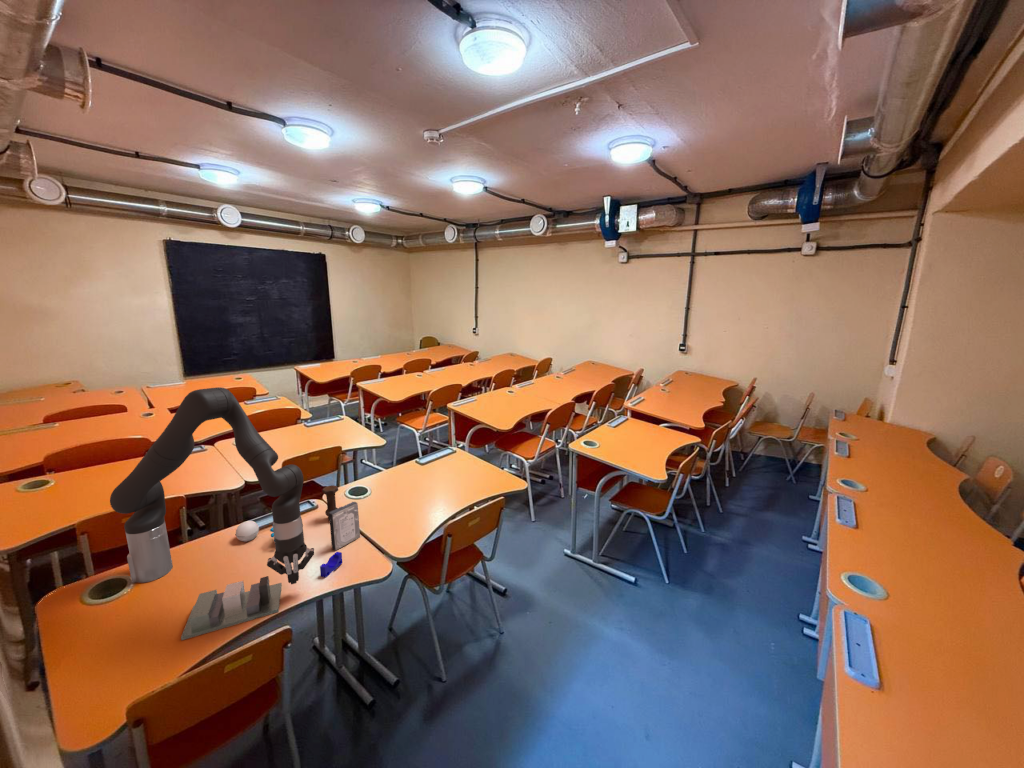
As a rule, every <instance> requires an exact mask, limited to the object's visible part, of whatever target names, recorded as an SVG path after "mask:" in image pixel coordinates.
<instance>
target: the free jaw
mask: <svg viewBox="0 0 1024 768" xmlns="http://www.w3.org/2000/svg"><path fill="white" fill-rule="evenodd" d="M269 578H270V577H269V576H264V577H260V579H259V582H257V583H254V584H253V583H252V584H251V586H250V589H249V591H250V593H249V597H248V602H247V606H246V611H247V615H250V614H254V613H257V612H260V607H261V604H265V603H268V602H269V599H270V579H269Z"/></svg>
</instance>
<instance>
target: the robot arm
mask: <svg viewBox="0 0 1024 768" xmlns="http://www.w3.org/2000/svg"><path fill="white" fill-rule="evenodd" d="M216 419H217V420H218V419H223V420H224V421H225V422H226V423H227V424H228V425H229V427H231V428H232V430H233V437H234V444H235V447H236V450H237V452H238V454H239V455H240V457H241V458H242V459H243V460H244V461H245V462H246V463H247V464H248V465H249V466H250V468H251V469H252V471H253V472H254V475H255V476H256V478H257V481H258V483H259V485H260V488H261V489H262V491H263V493H265V494H266V495H267V496H269V497H271V498H272V497H274V498H277V497H278V498H277V499H275V500H274V502H273V503H272V504H271V514H272V522H273V524H272V525H273V526H272V527H273V532H272V533H274V537H273V542H274V541H275V542H274V549H275V552H274V553H273V554H274V555H273V556H272V557H269V558H267V561H266V566H267V567H268V568H270V569H271V570H273V571H275V572H276V573H278V574H279V575H284V574H286V576H287V582H288V583H289V584H290V585H294V584H297V582H299V578H300V575H299V574H300V573H299V571H300V570H302V571H303V570H304V569H305V568H306V566H307V565H308V564H309V562H310V561H311V559H312V558H313V556H314V555H315V548H314V547H307V544H306V543H305V538H304V537H305V535H304V525H303V518H302V515H301V514H302V513H301V507H300V502H301V501H300V500H301V497H302V491H303V484H304V474H303V471H302V470H301V468H300V467H299V466H298V465H296V464H288V465H287V464H286V465H284V466H282V467H280V468H278V469H276V470H274V469H273V467H272V466H274V465H275V464H276V463H277V462H278V460H279V455H278V453H277V452H276V451H275V450H274V449H273V447H272V446H270V444H269V443H268V442H267V441H266V440H265V439H264V438H263V436H262V435H261V434H260V433H259V432H258V430H257V429H256V428H255V426H254V425H253V423H252V421H251V420H250V418H249V416H248V415H247V413H246V412H245V410H244V409H243V408H242V406H241V404H240V402H239V400H237V398H236V397H235V395H234V394H233V393H232V392H231V391H230V390H229V389H227V388H225V387H210V388H209V387H208V388H207V387H206V388H200V389H195V390H193V391H190V392H188V394H186V396H185V397H184V398H183V400H182V401H181V403H180V405H179V406H178V408H177V410H176V411H175V413H174V415H173V417H172V418H171V420H170V422H169V423H168V425H166V427H165V428H164V430H163V432H161V434H160V435H159V436H158V438H156V440H154V442H153V444H152V445H151V446H150V448H149V449H148V451H146V453H145V454H144V456H143V457H142V459H141V460H140V461H139V462H138V463H137V465H136V466H135V467H134V469H132V471H131V472H130V473H129V474H128V475H127V476H126V477H125V478H124V479H123V480H122V481H121V482H120V483H119V484H118V485H117V486H116V487H115V488H114V489H113V490H112V492H111V494H110V497H109V505H110V507H111V509H112V510H113V511H115V512H116V513H118V514H123V515H124V514H126V515H127V514H132V515H130V517H128V519H127V520H126V521H125V522H124V526H123V527H124V533H125V536H126V537H125V538H126V541H127V547H128V551H129V553H128V554H127V556H126V560H127V565H128V570H129V575H130V579H131V583H132V584H133V583H134V584H135V583H143V584H144V583H148V582H153V581H155V580H158V579H160V578H162V577H164V576H166V575H168V573H170V572H171V571H172V569H173V568H174V567H173V560H172V554H171V549H170V547H171V546H170V542H169V537H168V532H167V531H168V530H167V526H166V521H165V517H166V512H167V509H166V498H165V490H164V486H163V483H162V482H161V481H162V480H164V479H165V478H167V477H168V476H170V475H171V474H172V473H174V472H175V471H176V470H177V469H179V468H180V467H181V466H182V465H183V464H184V463H185V462H186V460H187V459H188V457H190V455H191V454H192V452H193V450H194V448H195V440H194V439H195V438H194V433H195V431H196V430H197V429H198V428H199V427H200V426H201V424H204V423H205V422H207V421H211V420H216ZM303 556H304V557H303ZM302 557H303V558H302ZM300 560H301V561H300ZM278 561H279V562H278ZM299 561H300V562H299ZM292 565H293V566H292Z"/></svg>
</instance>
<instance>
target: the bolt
mask: <svg viewBox="0 0 1024 768" xmlns="http://www.w3.org/2000/svg"><path fill="white" fill-rule="evenodd" d="M338 491H339V487H338V486H337V485H333V484H331V485H328V486H325V487H323V488H322V494H323V495H325V497H326V505H327V506H326V509H325V511H324V512H325V515H326V516H327V517H328V518H327V519H328V522H330V521H329V512H331V511H333V510H335V509H338V508H339V507H337V504H336V502H337V501H336V493H337V492H338Z"/></svg>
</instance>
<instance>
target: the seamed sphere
mask: <svg viewBox="0 0 1024 768" xmlns="http://www.w3.org/2000/svg"><path fill="white" fill-rule="evenodd" d="M259 532H260V527H259V524H258V522H255V521H253V520H247V521H243V522H241V523H240V524H239V525H238V526H237V527H236V529H235V533H234V534H235V538H237V540H239V541H241V542H244V543H246V542H249V541H252V540H254V539H255V538H256V537H257V536H258V535H259Z"/></svg>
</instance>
